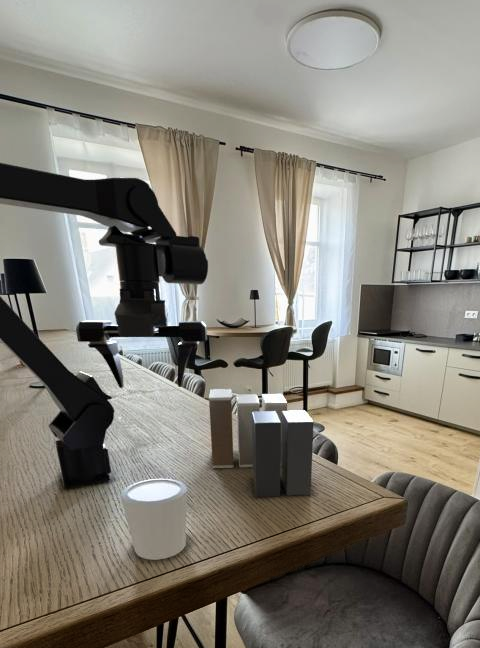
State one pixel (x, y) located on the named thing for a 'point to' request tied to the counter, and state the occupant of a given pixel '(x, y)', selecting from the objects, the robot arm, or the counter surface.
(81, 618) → the counter surface
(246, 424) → the grey tall rectangular block
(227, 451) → the tall cream square pillar
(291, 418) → the grey book
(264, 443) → the tall grey rectangular block
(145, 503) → the white cup
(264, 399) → the white book
